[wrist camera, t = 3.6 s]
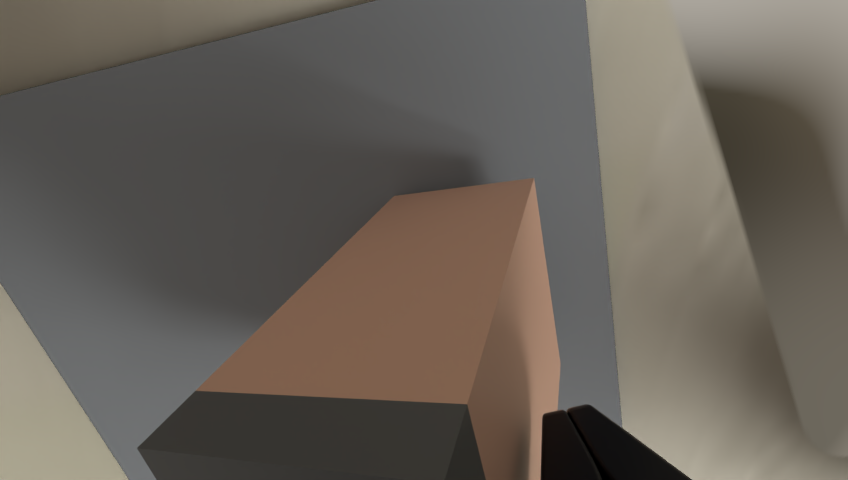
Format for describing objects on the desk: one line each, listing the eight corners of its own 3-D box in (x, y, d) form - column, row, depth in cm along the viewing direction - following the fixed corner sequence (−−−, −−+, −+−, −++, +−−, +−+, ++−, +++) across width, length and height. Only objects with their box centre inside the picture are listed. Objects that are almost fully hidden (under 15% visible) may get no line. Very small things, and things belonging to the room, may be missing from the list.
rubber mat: (575, -49, 12) (580, -52, 11) (618, 426, 18) (622, 434, 17) (-90, 120, 12) (-105, 122, 12) (168, 523, 18) (164, 533, 18)
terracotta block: (534, 177, 12) (443, 484, 4) (560, 363, 14) (532, 785, 6) (393, 195, 13) (136, 448, 6) (438, 362, 16) (296, 704, 8)
